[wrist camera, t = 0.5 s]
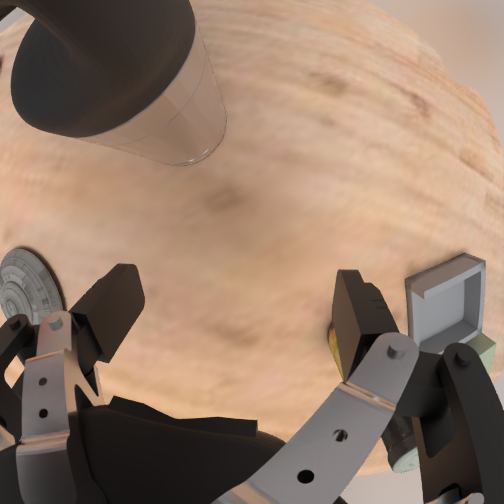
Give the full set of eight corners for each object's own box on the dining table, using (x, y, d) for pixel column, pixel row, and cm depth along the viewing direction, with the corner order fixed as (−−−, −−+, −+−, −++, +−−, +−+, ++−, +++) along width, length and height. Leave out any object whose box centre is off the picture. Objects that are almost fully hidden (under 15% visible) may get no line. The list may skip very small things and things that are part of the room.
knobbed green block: (394, 283, 30) (448, 322, 19) (471, 249, 29) (527, 270, 18) (399, 401, 34) (428, 447, 23) (464, 365, 33) (499, 399, 22)
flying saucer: (-5, 268, 29) (-27, 277, 24) (39, 228, 28) (13, 235, 23) (34, 349, 32) (16, 364, 27) (86, 328, 31) (66, 348, 26)
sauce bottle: (369, 300, 30) (471, 407, 11) (374, 341, 31) (453, 453, 12) (318, 317, 31) (384, 455, 11) (327, 358, 32) (380, 489, 12)
